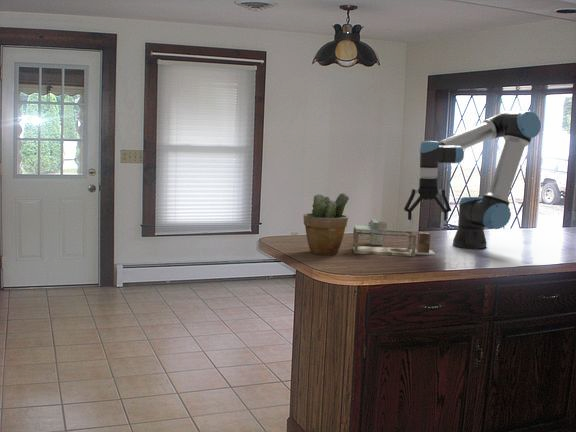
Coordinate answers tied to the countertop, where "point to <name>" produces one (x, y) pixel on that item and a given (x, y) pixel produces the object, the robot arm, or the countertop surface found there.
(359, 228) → the cover
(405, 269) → the countertop surface
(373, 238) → the mug
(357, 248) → the grey rectangular frame
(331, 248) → the potted plant
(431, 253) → the coaster
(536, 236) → the countertop surface
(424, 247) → the block
